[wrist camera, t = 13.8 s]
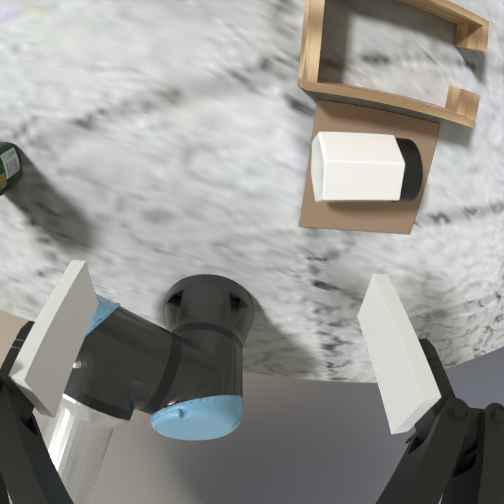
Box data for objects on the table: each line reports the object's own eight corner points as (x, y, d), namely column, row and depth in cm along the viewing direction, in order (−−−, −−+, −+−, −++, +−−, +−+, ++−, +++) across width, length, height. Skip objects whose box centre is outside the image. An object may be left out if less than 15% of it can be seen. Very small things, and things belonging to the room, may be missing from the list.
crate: (449, 116, 35) (473, 128, 30) (297, 85, 34) (306, 90, 29) (462, 20, 27) (488, 21, 22) (307, -27, 26) (317, -40, 21)
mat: (408, 233, 46) (409, 234, 46) (299, 225, 45) (299, 226, 45) (439, 123, 36) (440, 124, 36) (316, 99, 35) (317, 99, 35)
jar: (309, 188, 42) (391, 188, 42) (321, 218, 35) (415, 217, 35) (311, 123, 37) (399, 128, 37) (325, 141, 30) (428, 147, 30)
